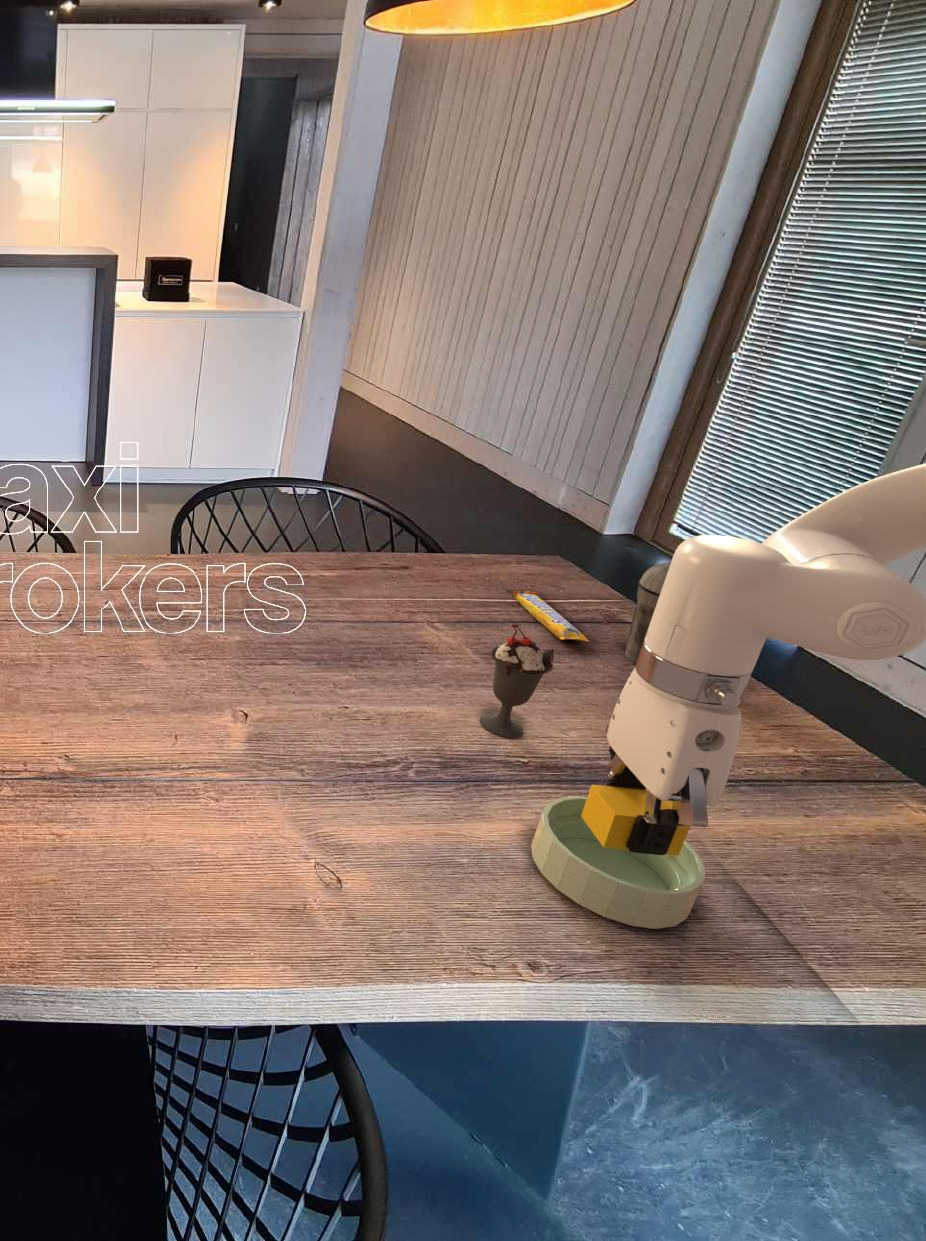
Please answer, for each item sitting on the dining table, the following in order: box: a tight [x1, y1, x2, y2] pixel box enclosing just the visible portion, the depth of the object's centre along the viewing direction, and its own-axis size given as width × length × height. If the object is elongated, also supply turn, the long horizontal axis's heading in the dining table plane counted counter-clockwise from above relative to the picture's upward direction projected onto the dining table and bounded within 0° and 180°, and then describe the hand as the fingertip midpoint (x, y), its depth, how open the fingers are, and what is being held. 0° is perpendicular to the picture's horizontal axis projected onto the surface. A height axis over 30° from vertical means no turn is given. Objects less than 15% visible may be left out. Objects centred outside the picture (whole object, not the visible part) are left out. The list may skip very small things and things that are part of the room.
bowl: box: [530, 795, 707, 930], centre depth 81 cm, size 13×13×5 cm
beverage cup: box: [624, 561, 671, 664], centre depth 118 cm, size 7×7×20 cm
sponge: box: [581, 784, 691, 855], centre depth 79 cm, size 6×4×4 cm
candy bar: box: [512, 590, 593, 643], centre depth 132 cm, size 17×4×2 cm, turn 174°
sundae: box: [479, 623, 555, 739], centre depth 103 cm, size 7×7×15 cm
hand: (630, 830), depth 80 cm, fingers closed on sponge, 4 cm apart
